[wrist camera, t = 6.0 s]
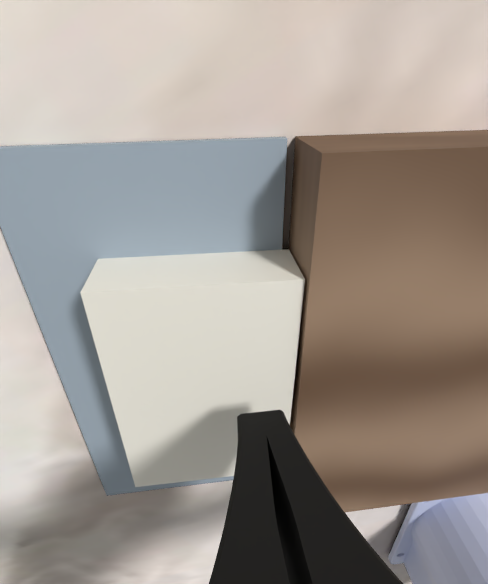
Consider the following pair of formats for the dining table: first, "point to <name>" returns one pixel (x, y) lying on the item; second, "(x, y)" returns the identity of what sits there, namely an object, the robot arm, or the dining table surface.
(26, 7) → the dining table surface
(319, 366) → the walnut board
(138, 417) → the cream block
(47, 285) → the slate mat
